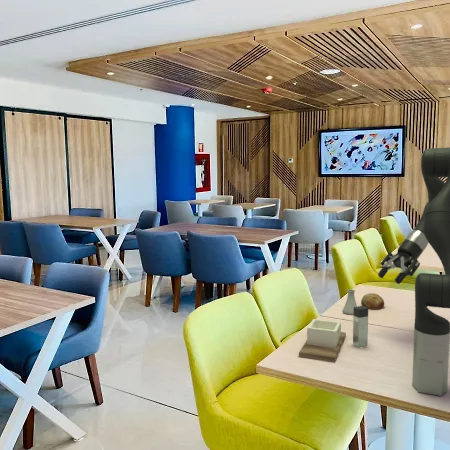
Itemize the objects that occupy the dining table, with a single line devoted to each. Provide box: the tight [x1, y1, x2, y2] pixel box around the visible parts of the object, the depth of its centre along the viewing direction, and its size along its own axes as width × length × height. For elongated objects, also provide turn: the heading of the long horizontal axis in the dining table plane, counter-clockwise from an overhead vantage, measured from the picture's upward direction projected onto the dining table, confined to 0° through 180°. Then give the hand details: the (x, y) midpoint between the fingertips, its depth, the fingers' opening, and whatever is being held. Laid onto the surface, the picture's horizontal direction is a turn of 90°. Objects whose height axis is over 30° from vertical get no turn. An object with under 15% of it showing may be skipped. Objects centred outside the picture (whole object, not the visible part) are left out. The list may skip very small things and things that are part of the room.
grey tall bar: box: [352, 305, 369, 349], centre depth 159 cm, size 3×4×14 cm
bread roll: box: [360, 292, 385, 311], centre depth 203 cm, size 10×10×8 cm
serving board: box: [298, 331, 347, 363], centre depth 160 cm, size 24×12×2 cm, turn 157°
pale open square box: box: [306, 318, 342, 348], centre depth 161 cm, size 10×10×6 cm
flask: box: [342, 288, 358, 316], centre depth 195 cm, size 7×7×10 cm
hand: (388, 279), depth 161 cm, fingers open, 8 cm apart
